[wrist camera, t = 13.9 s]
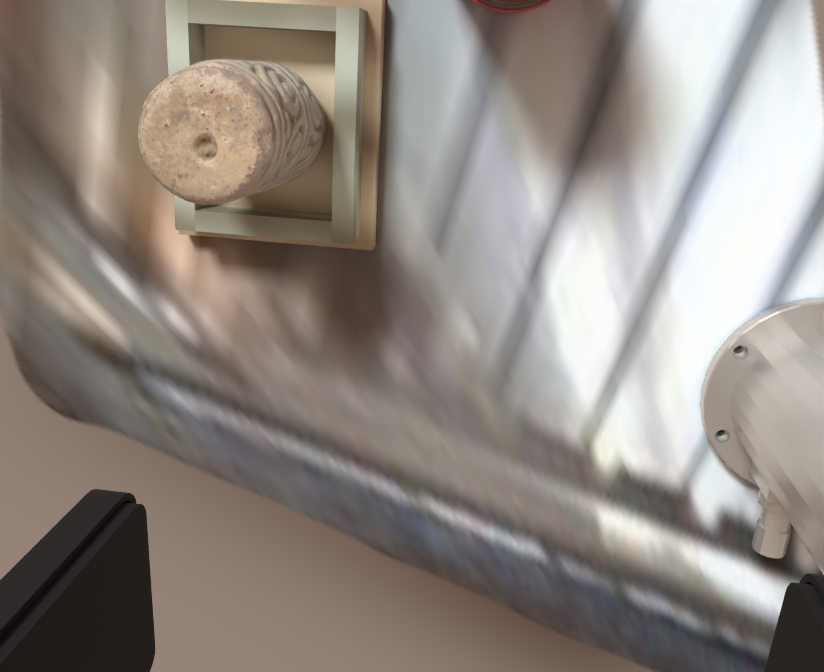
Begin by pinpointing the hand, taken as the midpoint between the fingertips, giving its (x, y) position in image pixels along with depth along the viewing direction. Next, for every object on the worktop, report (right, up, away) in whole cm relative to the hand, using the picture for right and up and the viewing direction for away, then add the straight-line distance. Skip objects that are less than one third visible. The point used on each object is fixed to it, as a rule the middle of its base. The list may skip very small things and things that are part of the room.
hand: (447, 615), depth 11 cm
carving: (-8, +16, +33) cm, 38 cm away
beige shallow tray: (-8, +17, +34) cm, 39 cm away
